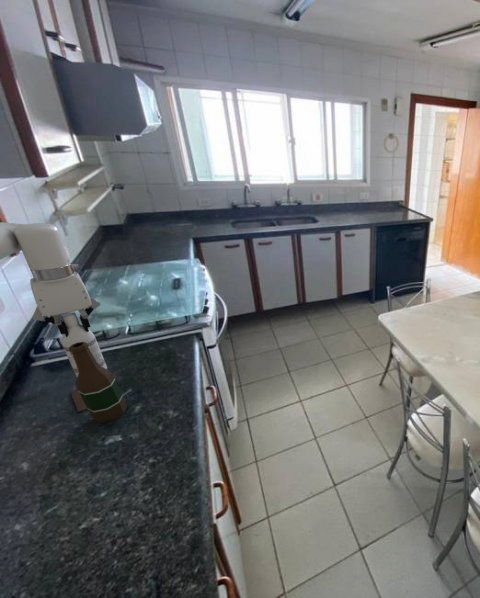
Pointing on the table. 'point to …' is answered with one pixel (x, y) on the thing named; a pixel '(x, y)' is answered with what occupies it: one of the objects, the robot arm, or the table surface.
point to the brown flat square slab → (79, 400)
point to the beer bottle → (97, 386)
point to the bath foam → (79, 340)
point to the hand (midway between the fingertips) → (76, 332)
